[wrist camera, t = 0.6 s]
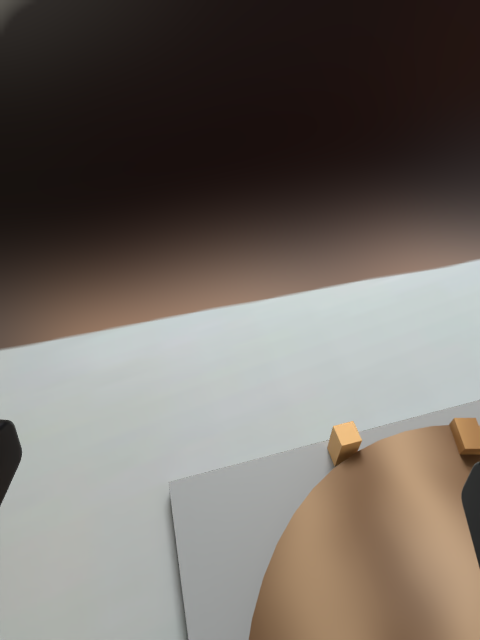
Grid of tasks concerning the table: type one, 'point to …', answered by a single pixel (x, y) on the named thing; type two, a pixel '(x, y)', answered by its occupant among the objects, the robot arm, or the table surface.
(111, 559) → the table surface
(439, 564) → the round wooden board
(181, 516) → the base plate
